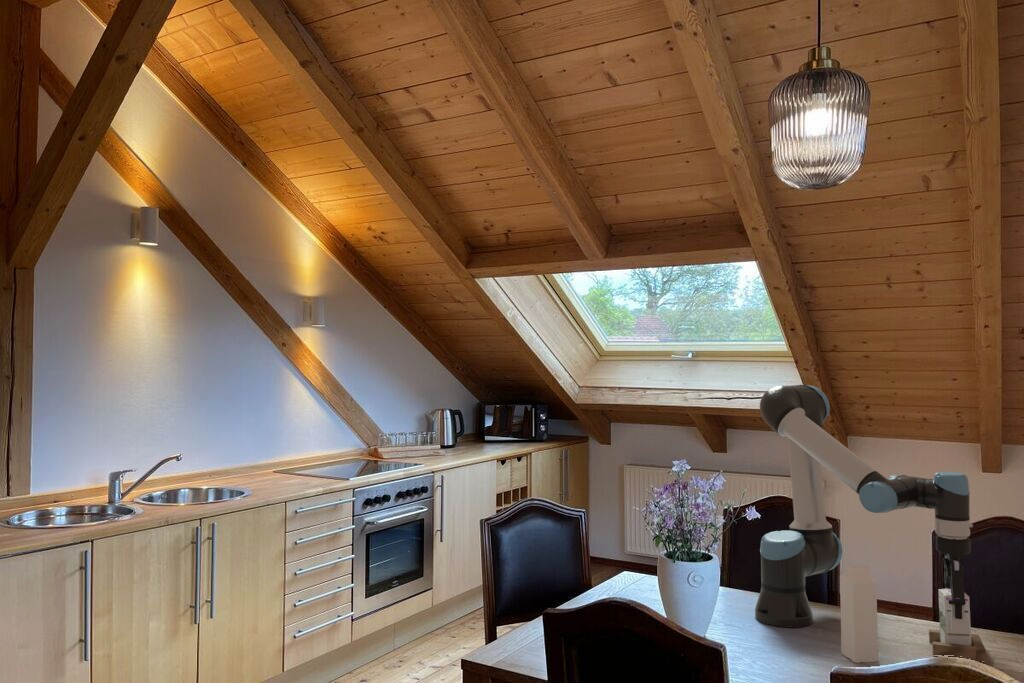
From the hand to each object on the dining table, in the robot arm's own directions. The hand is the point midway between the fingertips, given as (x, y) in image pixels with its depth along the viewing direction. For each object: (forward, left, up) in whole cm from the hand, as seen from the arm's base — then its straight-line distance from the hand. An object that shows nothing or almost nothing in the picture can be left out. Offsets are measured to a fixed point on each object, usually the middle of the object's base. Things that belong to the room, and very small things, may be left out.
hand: (954, 623), depth 193 cm
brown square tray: (-1, 0, -7) cm, 7 cm away
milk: (-22, -13, -7) cm, 26 cm away
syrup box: (0, 0, -7) cm, 7 cm away
